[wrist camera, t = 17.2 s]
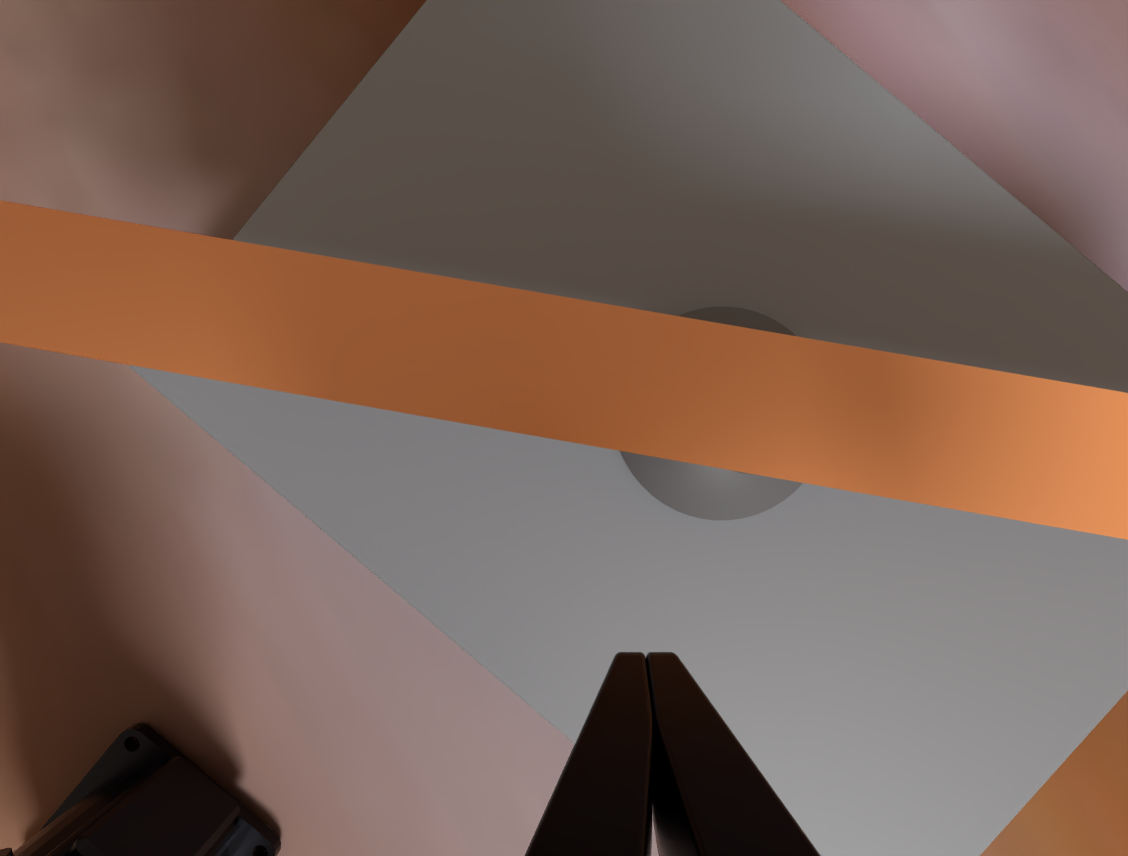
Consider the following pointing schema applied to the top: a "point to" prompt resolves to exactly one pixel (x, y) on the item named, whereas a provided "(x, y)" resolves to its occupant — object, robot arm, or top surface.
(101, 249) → the handle
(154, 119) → the top surface
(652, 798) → the robot arm
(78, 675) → the top surface
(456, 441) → the panel
